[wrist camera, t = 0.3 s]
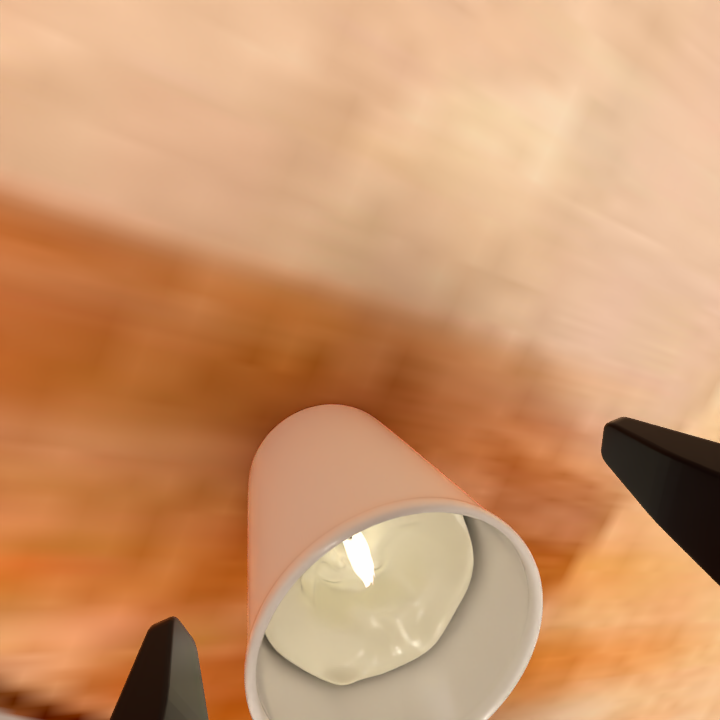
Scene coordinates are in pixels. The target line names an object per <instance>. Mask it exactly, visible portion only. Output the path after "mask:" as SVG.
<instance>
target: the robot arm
mask: <svg viewBox="0 0 720 720" xmlns="http://www.w3.org/2000/svg"><path fill="white" fill-rule="evenodd" d="M601 453H602V457H603V459H604V461H605V462H606V464H607V465H608V466H609V467H610V468H611V470H612V471H613V472H614V473H615V474H616V476H617V477H618V478H619V479H620V480H621V482H622V483H623V484H624V485H625V486H626V488H627V489H628V490H629V491H630V492H631V493H632V495H633V496H634V497H635V498H636V499H637V501H638V502H639V503H640V504H641V505H642V507H643V508H644V509H645V510H646V511H647V513H648V514H649V515H650V516H651V517H652V518H653V519H654V520H655V522H656V523H657V524H658V525H659V526H660V527H661V528H662V529H663V530H664V531H665V532H666V533H667V534H668V535H669V536H670V537H671V538H672V539H673V540H674V541H675V542H676V543H677V544H678V545H679V546H680V547H681V548H682V549H683V550H684V551H685V552H686V553H687V554H688V555H689V556H690V557H691V558H692V559H693V560H694V561H695V562H696V563H697V564H698V565H699V566H700V567H701V568H702V569H703V570H704V571H705V572H706V573H707V574H708V575H709V576H710V577H711V578H712V579H713V580H714V581H715V582H716V583H717V584H718V585H719V586H720V443H717V442H713V441H710V440H706V439H703V438H699V437H695V436H692V435H688V434H685V433H681V432H678V431H674V430H671V429H667V428H664V427H660V426H656V425H653V424H649V423H646V422H642V421H639V420H635V419H632V418H628V417H620V418H618V419H615V420H613V421H611V422H609V423H607V424H606V425H605V427H604V431H603V439H602V447H601ZM110 720H208V714H207V708H206V702H205V696H204V689H203V683H202V677H201V671H200V665H199V658H198V652H197V648H196V645H195V642H194V640H193V638H192V637H191V635H190V634H189V633H188V631H187V630H186V629H185V627H184V626H183V625H182V623H181V622H180V621H179V619H178V618H177V617H174V616H172V617H169V618H167V619H165V620H162V621H160V622H158V623H156V624H154V625H152V626H151V627H150V628H149V630H148V632H147V634H146V636H145V638H144V641H143V643H142V645H141V648H140V650H139V653H138V655H137V657H136V660H135V662H134V664H133V667H132V669H131V671H130V674H129V676H128V678H127V681H126V683H125V685H124V688H123V690H122V692H121V695H120V697H119V699H118V702H117V704H116V706H115V709H114V711H113V713H112V716H111V718H110Z"/></svg>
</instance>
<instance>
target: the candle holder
mask: <svg viewBox="0 0 720 720" xmlns="http://www.w3.org/2000/svg"><path fill="white" fill-rule="evenodd" d="M542 612H543V592H542V584H541V579H540V575H539V571H538V568H537V565H536V563H535V560H534V558H533V556H532V554H531V552H530V550H529V549H528V547H527V545H526V544H525V543H524V541H523V540H522V539H521V537H520V536H519V535H518V534H517V533H516V532H515V531H514V530H513V529H512V528H511V527H510V526H509V525H508V524H507V523H506V522H504V521H503V520H502V519H500V518H499V517H497V516H496V515H494V514H493V513H491V512H489V511H488V510H486V509H485V508H484V507H483V506H481V505H480V504H479V503H478V502H477V501H475V500H474V499H473V498H472V497H471V496H469V495H468V494H467V493H466V492H465V491H463V490H462V489H461V488H460V487H459V486H457V485H456V484H455V483H454V482H453V481H451V480H450V479H449V478H448V477H447V476H446V475H444V474H443V473H442V472H441V471H440V470H438V469H437V468H436V467H435V466H434V465H432V464H431V463H430V462H429V461H428V460H426V459H425V458H424V457H423V456H422V455H420V454H419V453H418V452H417V451H416V450H414V449H413V448H412V447H411V446H410V445H408V444H407V443H406V442H405V441H404V440H402V439H401V438H400V437H399V436H398V435H396V434H395V433H394V432H393V431H392V430H390V429H389V428H388V427H387V426H385V425H384V424H383V423H382V422H380V421H379V420H378V419H376V418H375V417H373V416H372V415H370V414H368V413H366V412H364V411H362V410H360V409H357V408H354V407H351V406H347V405H339V404H325V405H318V406H313V407H310V408H306V409H304V410H301V411H299V412H297V413H294V414H293V415H291V416H289V417H288V418H286V419H284V420H283V421H282V422H280V423H279V424H278V425H277V426H276V427H275V428H274V429H273V430H272V431H271V432H270V433H269V434H268V435H267V436H266V438H265V439H264V440H263V442H262V443H261V445H260V446H259V448H258V450H257V452H256V454H255V456H254V459H253V462H252V465H251V469H250V474H249V482H248V530H247V650H246V657H245V668H244V682H245V693H246V699H247V704H248V707H249V711H250V714H251V717H252V719H253V720H488V719H489V718H490V717H491V716H492V715H493V714H494V713H495V711H496V710H497V709H498V708H499V707H500V706H501V705H502V703H503V702H504V701H505V700H506V698H507V697H508V696H509V694H510V693H511V692H512V690H513V689H514V687H515V686H516V684H517V683H518V681H519V679H520V678H521V676H522V674H523V672H524V671H525V669H526V667H527V665H528V663H529V660H530V658H531V656H532V653H533V651H534V648H535V645H536V642H537V639H538V635H539V631H540V627H541V621H542Z"/></svg>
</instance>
